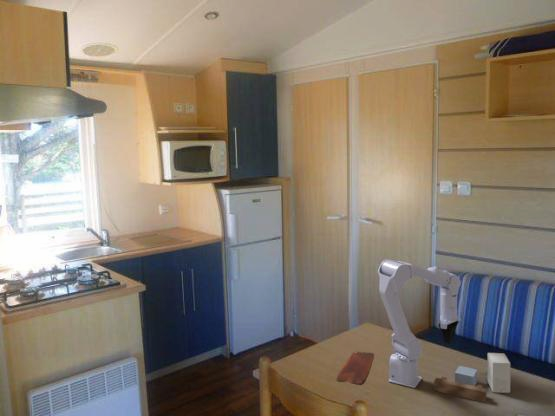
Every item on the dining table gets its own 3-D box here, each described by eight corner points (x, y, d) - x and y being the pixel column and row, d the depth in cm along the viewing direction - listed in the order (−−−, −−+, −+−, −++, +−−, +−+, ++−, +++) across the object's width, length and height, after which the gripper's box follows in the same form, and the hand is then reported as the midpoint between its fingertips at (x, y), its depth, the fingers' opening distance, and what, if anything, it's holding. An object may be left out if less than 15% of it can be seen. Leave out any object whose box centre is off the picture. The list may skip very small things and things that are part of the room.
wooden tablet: (363, 386, 172) (362, 382, 171) (335, 382, 175) (335, 378, 175) (377, 355, 196) (377, 351, 196) (352, 352, 200) (352, 348, 200)
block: (454, 385, 169) (454, 372, 168) (459, 377, 174) (459, 365, 173) (473, 389, 166) (473, 376, 165) (477, 381, 170) (477, 369, 170)
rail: (434, 390, 166) (434, 380, 165) (437, 385, 169) (437, 375, 168) (484, 402, 157) (484, 392, 156) (487, 396, 160) (487, 386, 160)
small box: (510, 393, 161) (510, 363, 160) (492, 392, 162) (492, 362, 161) (504, 381, 169) (504, 352, 168) (487, 381, 170) (487, 352, 169)
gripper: (455, 313, 170) (455, 350, 171) (465, 300, 182) (464, 336, 183) (434, 310, 174) (434, 346, 175) (445, 298, 186) (445, 332, 187)
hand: (448, 341), depth 180 cm, fingers open, 3 cm apart
